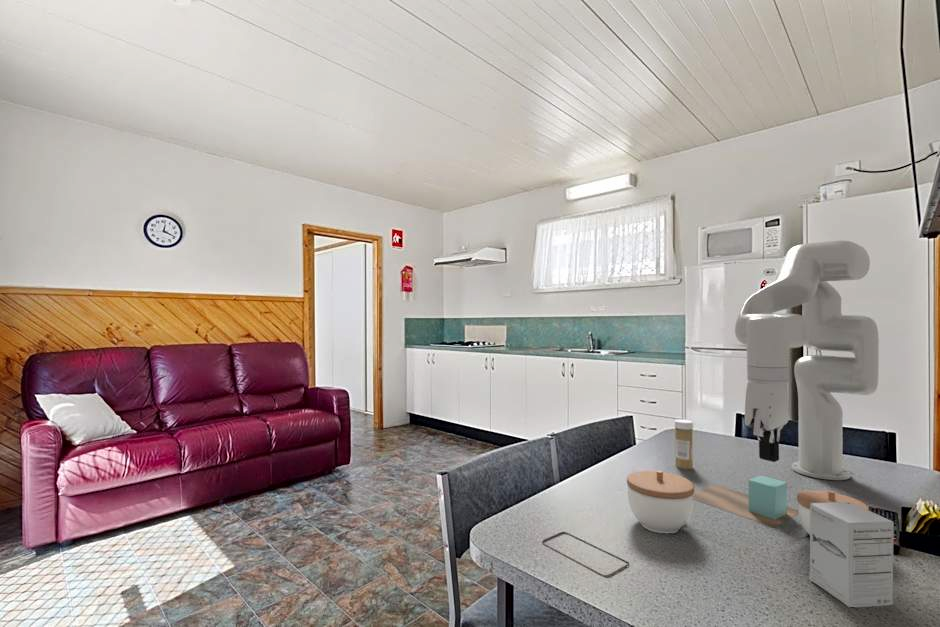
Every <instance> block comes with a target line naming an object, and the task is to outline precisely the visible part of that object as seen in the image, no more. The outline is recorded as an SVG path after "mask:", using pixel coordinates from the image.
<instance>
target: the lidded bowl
mask: <svg viewBox="0 0 940 627" xmlns="http://www.w3.org/2000/svg"><path fill="white" fill-rule="evenodd" d="M626 484H627V499H628V502H629V506H630V510H631V511H632V514H633V515H634V517H635V518H636V519H637V520H638V522H640V524H641V526H642V527H643V529H646V530H647V529H648V531H650V532H652V531H653V532H652V533H656V532H658V533H657V534H661V533H667V534H666V535H669V534H668V533H673V534H675V533H677V532H679V531H680V529H681V528H682V527H684V526H685V525H686V524H687V522H688V521H689V520H690V517H691V516H692V511H693V508H694V500H693V493H694V492H695V484H693V482H692V481H691V480H689V479H688V478H686V477H683V476H682V475H678V474H674V473H671V472H666V471H663V470H639V471H633V472H632V473H629V475H627V478H626Z"/></svg>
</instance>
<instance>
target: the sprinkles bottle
mask: <svg viewBox="0 0 940 627" xmlns="http://www.w3.org/2000/svg"><path fill="white" fill-rule="evenodd" d="M674 427H675V428H674V429H675V439H674V442H675V443H674V444H675V446H674V448H675V449H674V450H675V452H674V454H675V467H676V468H679V469H681V470H692V469H693V468H694V467H693V464H694V463H693V458H694V454H693V453H694V452H693V450H694V447H693V429H694V423H693V421H692V420H688V419H675V420H674Z"/></svg>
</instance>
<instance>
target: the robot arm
mask: <svg viewBox="0 0 940 627" xmlns="http://www.w3.org/2000/svg"><path fill="white" fill-rule="evenodd" d="M869 256H870V255H869V253H868V251H867V250H866V248H864V247H863V246H862V245H859V244H858V243H855V242H854V241H849V240H841V239H840V240H831V241H830V240H829V241H822V242H821V241H820V242H809V243H802V244H798V245H795V246H792V247H791V248H790V249H789V250H788V251H787V252H786V254H785V256H784V259H783V261H782V263H781V266H780V268H779V271H778V274H777V276H776V278H775V281H774V282H772V283H770V284H768V285H766V286H764V287H763V288H761V289H759V290H758V291H756V292H755V293H753V294H752V295H751V296H749V297H748V298H747V299H746V300H745V302H743V304H742V306H741V309H740V311H739V313H738V315H737V317H736V318H737V319H736V322H735V327H734V333H735V337H736V339H737V341H738V342H739V343H740V344H742V345H745V346H746V371H747V373H746V374H747V376H746V377H747V378H746V379H747V385H746V389H745V391H746V392H745V398H744V399H745V402H744V426H746V427H747V428H752V427H753V436H755V437H757V440H758V454H759V455H758V457H759V459H761V460H765V461H768V462H772V463H776V462H777V461H779V460H780V442H779V441H780V439H781V438H780V437H781V430H782V429H783V427H784V426H785V425H787V423H789V416H790V407H789V405H790V404H789V392H788V383H790V359H789V358H790V353H789V352H790V350H789V349H796V348H801V347H803V346H804V347H806V348H808V349H810V350H813V351H815V350H816V351H828V352H846V353H848V352H849V353H852V354H853V355H854V357H851V356H850V357H849V356H835V355H823V354H822V355H819V354H817V355H816V354H813V355H804V356H802V357H800V358H798V359H797V360H796V361H795V363H794V367H793V368H794V370H793V372H794V373H793V374H794V378H795V383H796V387H797V388H796V389H797V399H798V402H797V403H798V416H797V417H798V461H794V462H792V464H791V468H792V470H793V471H794V472H796V473H798V474H800V475H804V476H807V477H811V478H815V479H821V480H829V481H844V480H845V481H846V480H848V479H851V472H850V471H848V469H846V468H843V467H844V466H843V463H844V462H843V460H844V456H843V454H844V453H843V418H844V417H843V409H842V406H841V404H840V402H838V400H837V399H836V398H835V397H834V396H833V394H831V393H834V394H835V393H838V394H846V395H858V396H868V395H873V394H874V393H875V392H876V391H877V389H878V386H879V359H880V358H879V357H880V356H879V355H880V354H879V353H880V352H879V350H880V349H879V347H880V346H879V342H880V340H879V329H878V326H877V323H876V321H875V320H874V319H873V318H871V317H868V316H866V315H854V314H853V315H846V314H845V315H843V314H842V296H841V295H840V293H839V292H838V290H837V289H836V288H835V287H834V286H833V285H831V284H830V283H829V282H836V281H837V282H839V281H858V280H861V279H863V278H864V277H866V276H867V274H868V273H869V270H870V266H871V265H870V263H871V261H870V257H869ZM798 306H802V309H801V314H798V313H777V312H779V311H784V310H789V309H791V308H792V309H793V308H795V307H798Z"/></svg>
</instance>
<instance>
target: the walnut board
mask: <svg viewBox="0 0 940 627" xmlns="http://www.w3.org/2000/svg"><path fill="white" fill-rule="evenodd" d="M693 501H696V502H699V503H702V504H704V505H709V506H711V507H714V508H717V509H720V510H722V511H725V512H728V513H731V514H733V515H738V516H740V517H743V518H745V519H748V520H750V521H754V522H757V523H760V524H763V525H764V526H769V527H771V528H776V527H778V526H779V525H781V524H783V523H785V522H787V521H789V520H791V519H793V518H794V517H796V516H799V514H798V509H794V508H791V507H788V506H787V514H785V515H784V516H782V517H780V518H778V519H776V520H775V519H772V518H769V517H766V516H763V515H760V514H757V513H754V512H751V511H749V494H746V493H742V492H739V491H737V490H736V491H735V490H734V489H730V488H726V487H724V486H720V485H718V484H717V485H716V484H712V485H709V486H707V487H704V488H702V489H699V490H696V491H694V493H693Z"/></svg>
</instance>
